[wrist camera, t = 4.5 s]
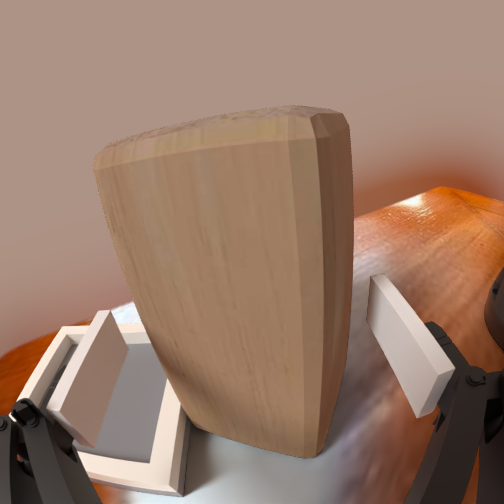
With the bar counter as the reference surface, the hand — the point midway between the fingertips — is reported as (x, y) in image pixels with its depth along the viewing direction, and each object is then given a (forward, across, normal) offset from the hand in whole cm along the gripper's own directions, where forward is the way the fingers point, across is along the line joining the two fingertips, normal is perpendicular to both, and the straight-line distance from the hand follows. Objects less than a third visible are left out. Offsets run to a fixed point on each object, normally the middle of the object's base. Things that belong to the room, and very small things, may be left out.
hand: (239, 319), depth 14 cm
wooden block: (+3, +1, -11) cm, 12 cm away
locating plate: (+3, -14, -11) cm, 18 cm away
